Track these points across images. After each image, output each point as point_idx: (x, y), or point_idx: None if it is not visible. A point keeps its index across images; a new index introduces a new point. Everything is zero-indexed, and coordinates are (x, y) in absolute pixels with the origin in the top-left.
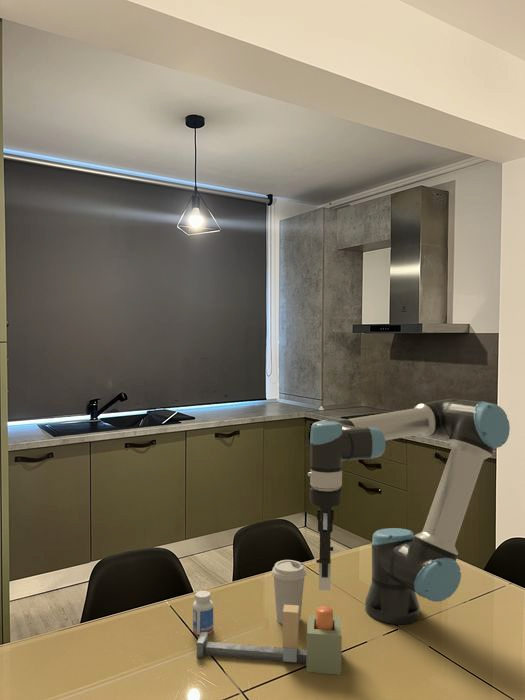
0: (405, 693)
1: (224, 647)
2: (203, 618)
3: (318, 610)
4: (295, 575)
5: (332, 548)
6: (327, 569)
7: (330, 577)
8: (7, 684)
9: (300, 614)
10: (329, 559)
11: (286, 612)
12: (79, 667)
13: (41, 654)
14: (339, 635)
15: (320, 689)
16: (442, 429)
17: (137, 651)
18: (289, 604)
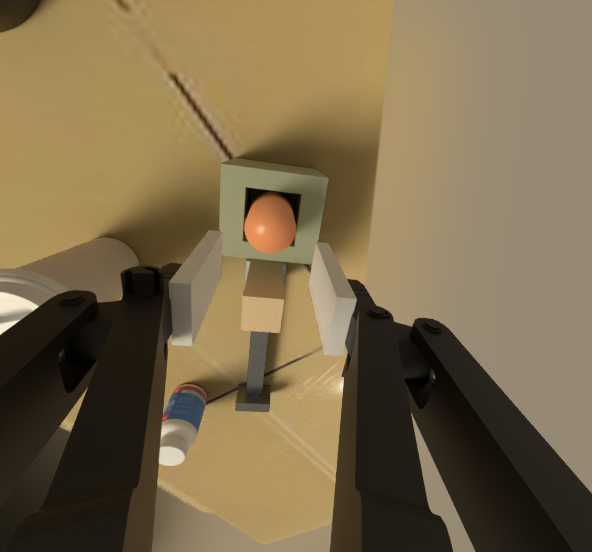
0: (388, 22)
1: (261, 370)
2: (199, 417)
3: (274, 247)
4: None
5: (144, 278)
6: (373, 302)
7: (338, 263)
8: (325, 524)
9: (106, 242)
10: (455, 342)
11: (280, 324)
12: (296, 489)
13: (271, 521)
14: (327, 183)
15: (358, 215)
16: None
17: (258, 453)
18: (118, 282)
